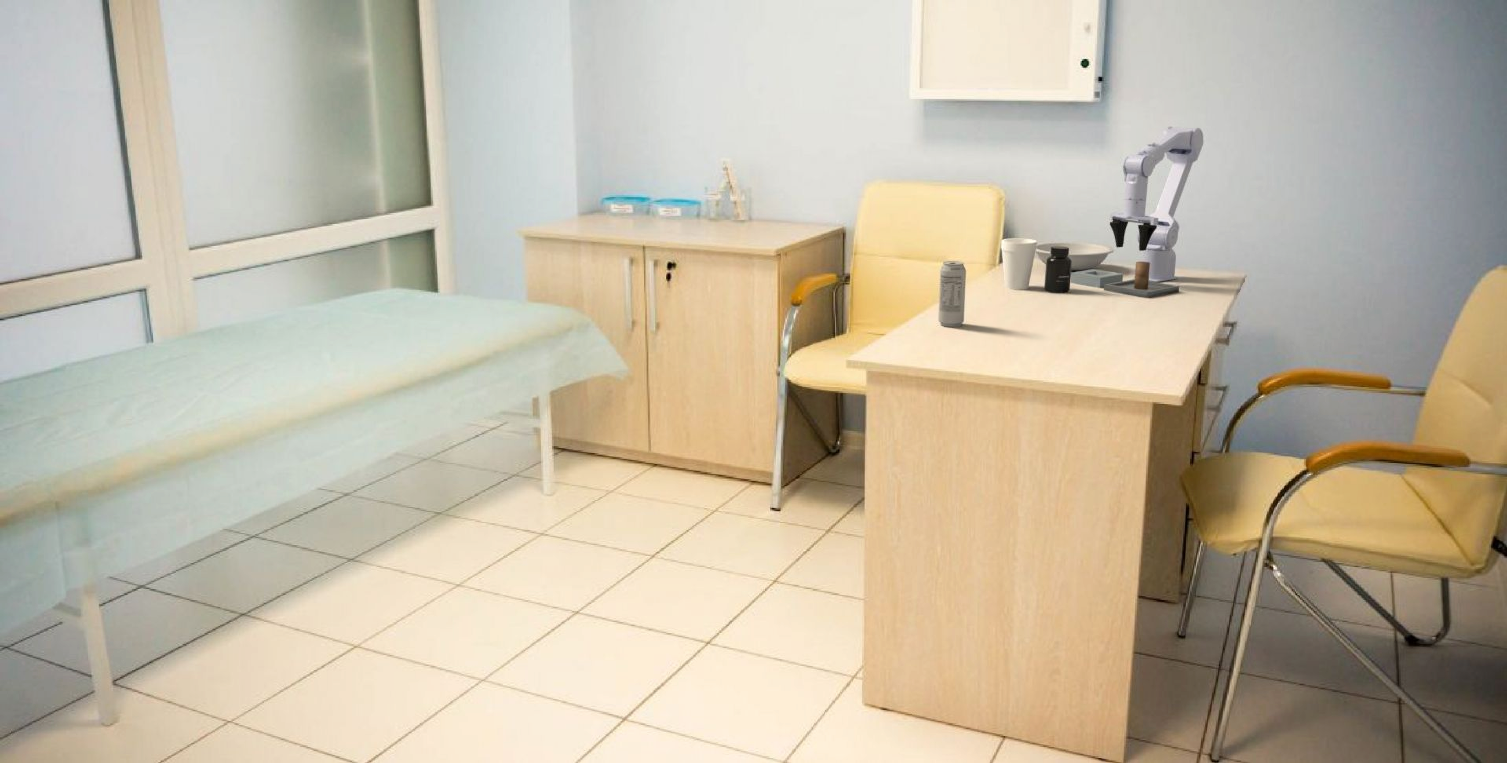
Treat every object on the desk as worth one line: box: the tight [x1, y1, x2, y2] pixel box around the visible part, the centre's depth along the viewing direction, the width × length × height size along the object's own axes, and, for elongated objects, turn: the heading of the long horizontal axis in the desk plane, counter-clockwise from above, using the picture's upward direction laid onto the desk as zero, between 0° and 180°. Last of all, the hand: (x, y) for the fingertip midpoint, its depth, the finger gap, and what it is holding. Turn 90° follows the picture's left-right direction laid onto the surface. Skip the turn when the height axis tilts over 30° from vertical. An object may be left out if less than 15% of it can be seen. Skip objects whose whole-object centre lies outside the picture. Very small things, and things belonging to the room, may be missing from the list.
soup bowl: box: [1035, 241, 1115, 272], centre depth 371 cm, size 24×24×7 cm
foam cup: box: [1000, 237, 1038, 291], centre depth 342 cm, size 10×9×13 cm
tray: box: [1103, 278, 1180, 299], centre depth 338 cm, size 14×14×2 cm
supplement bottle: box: [1043, 246, 1072, 294], centre depth 337 cm, size 7×7×12 cm
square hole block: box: [1070, 268, 1124, 289], centre depth 350 cm, size 10×10×3 cm
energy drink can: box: [938, 260, 967, 328], centre depth 296 cm, size 6×6×15 cm
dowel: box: [1134, 261, 1150, 289], centre depth 337 cm, size 4×4×7 cm
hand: (1130, 248), depth 343 cm, fingers open, 7 cm apart
